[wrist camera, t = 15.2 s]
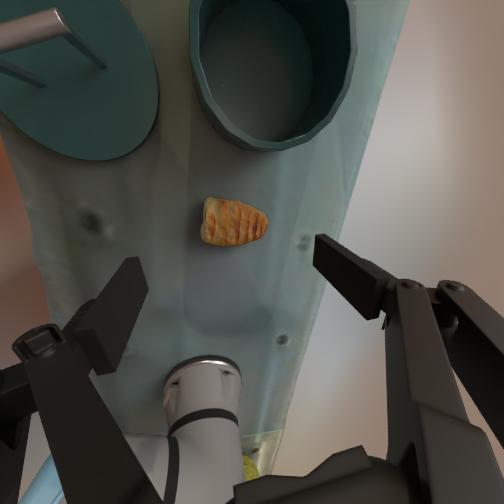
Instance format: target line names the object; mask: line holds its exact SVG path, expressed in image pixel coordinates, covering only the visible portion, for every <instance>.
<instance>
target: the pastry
mask: <svg viewBox="0 0 504 504" xmlns="http://www.w3.org/2000/svg"><path fill="white" fill-rule="evenodd" d="M203 220H204V221H203V224H202V225H201V237H202V239H203V241H204V242H206V243H212V244H214V245H218V246H235V245H241V244H246V243H248V242H250V241H255V240H258V239H260V238H261V237H262V236H263V235H264V233H265V231H266V228H267V226H268V223H269V222H268V220H267V218H266V216H265V215H264V213H263V212H261V211H258V210H256V209H255V208H253V207H252V206H250V205H246V204H244V203H242V202H240V201H238V200H233V201H230V200H225V199H217V198H213V197H207V198H206V199H205V201H204V209H203Z"/></svg>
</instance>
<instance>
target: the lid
mask: <svg viewBox="0 0 504 504" xmlns="http://www.w3.org/2000/svg"><path fill="white" fill-rule="evenodd" d="M158 108H159V83H158V76H157V71H156V67H155V63H154V60H153V57H152V55H151V52H150V49H149V47H148V45H147V43H146V40H145V38H144V36H143V34H142V33H141V31H140V29H139V27H138V26H137V24H136V22H135V21H134V19H133V18H132V16H131V15H130V14H129V12H128V11H127V9H126V8H125V7H124V6H123V5H122V3H121V2H120V1H119V0H0V110H1V111H2V112H3V113H4V114H5V115H6V116H7V117H8V119H9V120H10V121H11V122H13V123H14V124H15V125H16V126H17V127H18V128H19V129H20V130H22V131H23V132H24V133H26V134H27V135H28V136H30V137H31V138H32V139H34V140H35V141H37V142H39V143H40V144H42V145H44V146H45V147H47V148H49V149H51V150H54V151H56V152H58V153H61V154H63V155H66V156H69V157H73V158H77V159H82V160H89V161H104V160H112V159H116V158H120V157H122V156H125V155H127V154H129V153H131V152H132V151H134V150H135V149H137V148H138V147H139V146H140V145H141V144H142V143H143V142H144V141H145V140H146V138H147V137H148V135H149V134H150V132H151V130H152V129H153V126H154V124H155V121H156V117H157V113H158Z"/></svg>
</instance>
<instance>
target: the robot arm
mask: <svg viewBox="0 0 504 504" xmlns="http://www.w3.org/2000/svg"><path fill="white" fill-rule="evenodd" d="M313 266H314V267H315V268H316V269H317V270H318V271H319V272H320V273H321V274H322V275H323V276H324V277H325V278H326V279H327V280H328V281H329V282H330V283H331V284H332V286H333V287H334V288H336V290H337V291H338V292H339V293H340V294H341V295H342V296H343V297H344V298H345V299H346V300H347V301H348V302H349V303H350V304H351V305H352V306H353V307H354V308H355V309H356V310H357V311H358V312H359V313H360V314H361V315H362V316H363V317H364V318H365V319H366V320H371V319H376V318H378V317H379V314H380V311H381V310H382V311H383V312H385V313H386V316H385V319H384V323H383V326H382V330H384V328H385V351H386V381H387V382H386V383H387V415H388V452H387V458H386V460H384V459H381V458H378V457H373V456H368V455H367V454H366V452H365V450H364V448H363V446H362V445H360V446H357V447H354V448H350V449H347V450H345V451H341V452H338V453H335V454H332V455H331V456H330V457H329V458H327V459H326V460H325V461H324V462H322V463H321V464H320V465H319V466H318V467H316V468H315V469H314V470H313V471H312V472H310V473H309V474H308V475H306V476H304V477H296V476H279V475H265V476H262V477H258V478H255V479H252V480H249V481H246V480H245V472H244V465H243V457H242V450H241V442H240V435H239V428H238V419H237V413H238V406H239V399H240V393H241V385H242V380H241V374H240V370H239V368H238V366H237V365H236V364H235V363H234V362H233V361H231V360H229V359H227V358H224V357H220V356H211V355H210V356H200V357H195V358H192V359H189V360H187V361H184V362H183V363H181V364H179V365H178V366H176V367H175V368H174V369H173V370H172V371H171V372H170V373H169V375H168V376H167V378H166V381H165V386H164V392H163V396H164V402H163V405H164V408H166V414H167V420H168V425H169V432H168V436H161V435H142V434H124V433H122V432H121V430H120V429H119V427H118V425H117V424H116V422H115V420H114V419H113V417H112V415H111V414H110V412H109V410H108V409H107V407H106V405H105V404H104V402H103V400H102V399H101V397H100V395H99V394H98V392H97V390H96V388H95V387H94V385H93V383H92V382H91V380H90V378H89V377H88V375H89V373H90V371H91V369H92V367H93V369H94V371H95V372H96V374H97V376H98V375H103V374H108V373H113V372H116V369H117V367H118V364H119V362H120V359H121V357H122V355H123V352H124V350H125V347H126V345H127V342H128V340H129V337H130V335H131V332H132V330H133V327H134V325H135V322H136V320H137V317H138V315H139V312H140V310H141V307H142V305H143V302H144V300H145V298H146V295H147V293H148V290H149V289H148V285H147V282H146V279H145V276H144V273H143V269H142V266H141V263H140V260H139V257H130V258H126V259H125V261H124V262H123V263H122V265H121V266H120V267H119V269H118V270H117V271H116V273H115V274H114V275H113V277H112V278H111V279H110V281H109V282H108V284H107V285H106V286H105V288H104V289H103V290H102V292H101V293H100V294H99V296H98V297H97V298H96V299H91V300H89V301H88V302H86V303H85V304H83V305H82V306H81V307H80V308H79V309H78V311H77V312H76V313H75V315H74V316H73V317H72V318H71V321H69V322H68V323H67V324H66V326H65V327H64V328H63V329H62V331H61V330H60V328H59V327H58V326H57V325H56V324H46V325H41V326H39V327H36V328H34V329H31V330H30V331H28V332H26V333H24V334H23V335H22V336H20V337H19V338H18V339H17V340H16V341H15V342H14V343H13V344H12V350H13V351H14V352H15V353H16V355H17V356H18V357H19V358H20V360H21V361H22V362H21V363H19V364H16V365H13V366H11V367H8V368H5V369H3V370H0V504H17V502H18V496H19V490H20V483H21V477H22V471H23V464H24V458H25V452H26V445H27V439H28V433H29V426H30V420H31V414H32V413H34V412H37V411H38V412H39V415H40V419H41V422H42V425H43V428H44V431H45V435H46V438H47V441H48V444H49V448H50V451H51V454H50V455H49V457H48V458H47V460H46V461H45V463H44V464H43V466H42V467H41V469H40V470H39V472H38V474H37V475H36V477H35V478H34V480H33V481H32V483H31V484H30V486H29V488H28V489H27V491H26V493H25V494H24V496H23V497H22V499H21V500H20V502H19V504H504V479H503V476H502V474H501V471H500V468H499V466H498V463H497V460H496V458H495V455H494V452H493V450H492V447H491V444H490V442H489V440H488V438H487V436H486V433H485V432H484V431H483V430H482V429H481V428H479V427H477V426H475V425H472V424H471V423H470V422H469V419H468V417H467V414H466V411H465V407H464V404H463V401H462V398H461V396H460V392H459V389H458V386H457V383H456V380H455V377H454V374H453V371H452V368H453V370H454V371H455V373H456V375H457V376H458V378H459V379H460V381H461V383H462V384H463V386H464V387H465V389H466V391H467V392H468V394H469V395H470V397H471V398H472V400H473V402H474V403H475V405H476V406H477V407H478V409H479V411H480V412H481V414H482V416H483V417H484V419H485V421H486V422H487V424H488V425H489V427H490V428H491V430H492V432H493V433H494V435H495V436H496V438H497V440H498V441H499V442H500V444H501V446H502V447H503V449H504V318H503V317H502V316H501V315H500V314H498V313H497V312H496V311H495V310H494V309H493V308H492V307H491V306H489V305H488V304H487V303H486V302H485V301H484V300H483V299H481V297H479V296H478V295H477V294H476V293H475V292H474V291H473V290H471V289H470V288H469V287H467V286H466V285H464V284H461V283H460V282H456V281H450V280H442V281H439V283H438V285H437V288H425V287H424V286H423V285H422V284H421V283H418V282H416V281H414V280H410V279H397V278H395V277H394V276H393V275H391V274H390V273H388V272H386V271H385V270H382V268H380V267H379V266H377V265H376V264H374V263H372V262H371V261H368V260H366V259H362V258H360V257H359V256H357V255H356V254H354V253H353V252H351V251H350V250H348V249H347V248H345V247H344V246H342V245H340V244H339V243H338V242H336V241H335V240H333V239H332V238H330V237H329V236H327V235H326V234H318V235H315V245H314V256H313ZM457 322H458V324H457ZM451 367H452V368H451Z"/></svg>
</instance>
